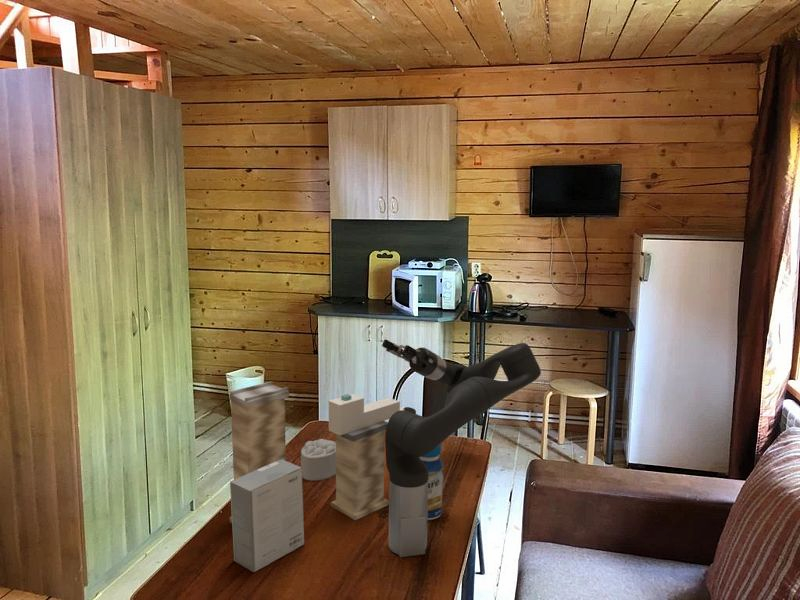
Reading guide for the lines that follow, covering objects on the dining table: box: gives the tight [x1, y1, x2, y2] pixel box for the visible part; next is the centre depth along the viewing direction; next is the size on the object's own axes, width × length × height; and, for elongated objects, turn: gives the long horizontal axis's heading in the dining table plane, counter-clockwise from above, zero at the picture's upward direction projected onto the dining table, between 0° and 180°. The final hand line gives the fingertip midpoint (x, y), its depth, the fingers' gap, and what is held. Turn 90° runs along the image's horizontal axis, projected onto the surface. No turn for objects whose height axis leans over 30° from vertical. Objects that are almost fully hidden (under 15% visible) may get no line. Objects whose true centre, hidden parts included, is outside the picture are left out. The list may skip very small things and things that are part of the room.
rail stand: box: [229, 380, 290, 524], centre depth 166 cm, size 13×9×35 cm
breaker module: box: [328, 393, 401, 435], centre depth 174 cm, size 21×4×9 cm, turn 134°
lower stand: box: [329, 420, 389, 521], centre depth 175 cm, size 13×10×23 cm
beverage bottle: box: [419, 443, 444, 521], centre depth 172 cm, size 8×8×20 cm
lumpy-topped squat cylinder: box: [300, 438, 336, 481], centre depth 197 cm, size 10×13×9 cm
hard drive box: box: [229, 459, 305, 573], centre depth 153 cm, size 16×8×20 cm, turn 141°
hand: (394, 345), depth 183 cm, fingers open, 8 cm apart
